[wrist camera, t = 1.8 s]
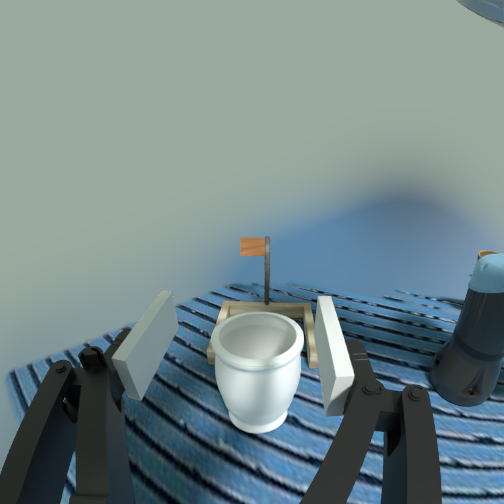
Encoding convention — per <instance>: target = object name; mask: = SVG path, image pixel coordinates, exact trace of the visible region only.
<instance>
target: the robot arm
mask: <svg viewBox="0 0 504 504" xmlns="http://www.w3.org/2000/svg"><path fill="white" fill-rule="evenodd" d="M456 1H458V2H459V3H460V4H462V5H463V6H465V7H466V8H468V9H469V10H471V11H473V12H474V13H476V14H477V15H479V16H481V17H483V18H485V19H487V20H489V21H491V22H493V23H495V24H497V25H500V26H502V27H504V0H456ZM468 286H469V289H468V291H467V295H466V298H465V301H464V304H463V307H462V310H461V313H460V316H459V319H458V321H457V324H456V327H455V329H454V332H453V334H452V335H451V336H450V337H449V339H448V340H447V341H446V342H445V343H444V345H443V346H442V347H441V348H440V349H439V350H438V352H437V353H436V354H435V356H434V358H433V360H432V363H431V365H430V368H429V377H430V381H431V383H432V385H433V387H434V388H435V390H436V391H437V392H438V393H439V394H440V395H441V396H442V397H443V398H445V399H446V400H448V401H450V402H452V403H454V404H457V405H460V406H476V405H479V404H481V403H483V402H485V401H486V400H487V399H488V398H489V397H490V395H491V394H492V392H493V391H494V389H495V387H496V385H497V382H498V378H499V374H500V370H501V366H502V362H503V357H504V254H488V255H485V256H483V257H481V258H480V259H479V260H478V261H477V263H476V265H475V268H474V271H473V274H472V277H471V280H470V281H469V284H468ZM178 328H179V327H178V321H177V316H176V310H175V304H174V298H173V292H172V291H161V292H160V293H159V294H158V296H157V297H156V298H155V300H154V301H153V302H152V304H151V305H150V306H149V307H148V309H147V310H146V311H145V313H144V314H143V316H142V317H141V318H140V319H139V321H138V322H137V323H136V325H135V326H134V328H133V329H132V330H131V329H125V330H124V331H122V332H121V333H119V335H118V336H117V337H116V338H115V340H114V341H113V342H112V345H110V346H109V348H108V349H107V350H106V352H105V353H104V354H103V351H102V350H101V349H100V348H99V347H96V346H91V347H87V348H85V349H83V350H82V351H81V352H80V353H79V355H78V357H79V359H80V361H81V364H82V366H83V368H73V367H72V365H71V363H70V362H69V361H67V360H60V361H57V362H55V363H54V364H53V365H52V366H51V368H50V369H49V371H48V373H47V375H46V376H45V378H44V380H43V382H42V383H41V385H40V387H39V389H38V391H37V393H36V395H35V397H34V398H33V400H32V402H31V404H30V406H29V408H28V410H27V412H26V414H25V416H24V419H23V421H22V423H21V425H20V427H19V429H18V431H17V434H16V436H15V438H14V441H13V443H12V445H11V448H10V450H9V453H8V455H7V458H6V460H5V463H4V466H3V468H2V471H1V474H0V504H60V502H61V498H62V493H63V489H64V485H65V481H66V477H67V473H68V469H69V466H70V462H71V459H72V455H73V452H74V448H75V445H76V493H75V494H73V495H71V496H70V498H69V504H136V503H135V498H134V493H133V487H132V481H131V474H130V467H129V459H128V451H127V441H126V429H125V414H124V400H123V397H122V394H123V393H124V391H125V392H126V394H127V396H128V398H132V399H136V400H140V401H141V400H142V398H143V396H144V394H145V392H146V390H147V388H148V386H149V384H150V382H151V380H152V378H153V376H154V374H155V372H156V370H157V368H158V366H159V364H160V363H161V361H162V359H163V357H164V355H165V353H166V351H167V349H168V347H169V345H170V343H171V341H172V339H173V337H174V336H175V334H176V332H177V330H178ZM314 339H315V346H316V352H317V359H318V366H319V373H320V380H321V387H322V395H323V402H324V410H325V417H326V416H341V415H342V412H343V410H344V412H345V415H344V418H343V420H342V422H341V425H340V427H339V429H338V431H337V434H336V436H335V438H334V440H333V442H332V444H331V446H330V448H329V450H328V453H327V455H326V457H325V459H324V461H323V462H322V464H321V466H320V468H319V470H318V472H317V474H316V476H315V477H314V479H313V481H312V483H311V485H310V486H309V488H308V490H307V492H306V493H305V495H304V497H303V498H302V500H301V502H300V503H299V504H346V502H347V499H348V497H349V495H350V493H351V491H352V488H353V486H354V484H355V481H356V479H357V477H358V474H359V472H360V469H361V467H362V464H363V461H364V459H365V456H366V453H367V450H368V448H369V445H370V442H371V439H372V436H373V433H374V431H381V432H384V457H383V481H382V495H381V504H442V493H441V475H440V463H439V453H438V445H437V438H436V431H435V425H434V419H433V413H432V408H431V403H430V398H429V394H428V392H427V390H426V389H425V388H424V387H422V386H420V385H415V384H413V385H408V386H406V387H405V388H404V389H403V391H394V390H389V389H386V388H384V386H383V384H382V383H381V382H379V381H377V380H376V378H375V375H374V373H373V370H372V367H371V364H370V361H369V360H368V356H367V354H366V350H365V348H364V345H363V344H362V343H361V342H360V341H359V340H344V337H343V334H342V330H341V327H340V324H339V321H338V318H337V314H336V311H335V308H334V305H333V302H332V299H331V296H318V300H317V310H316V318H315V326H314ZM64 398H65V400H64ZM63 400H64V402H63Z"/></svg>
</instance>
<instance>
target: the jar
mask: <svg viewBox="0 0 504 504" xmlns="http://www.w3.org/2000/svg"><path fill="white" fill-rule="evenodd" d="M211 343H212V348H213V351H214V353H215V354H216V357H215V375H216V381H217V385H218V388H219V391H220V393H221V395H222V398H223V400H224V403H225V405H226V407H227V409H228V410H229V417H230V419H231V421H232V423H233V424H234V425H235V426H236V427H238V428H239V429H241V430H243V431H246V432H249V433H265V432H269V431H272V430H274V429H276V428H277V427H279V426H280V425H281V424H282V423H283V422H284V420H285V419H286V416H287V409H288V407H289V406H290V404H291V402H292V399H293V396H294V394H295V392H296V389H297V386H298V383H299V379H300V372H301V358H300V352H301V350H302V348H303V344H304V334H303V331H302V329H301V327H300V326H299V325H298V324H297V323H296V322H295V321H293V320H292V319H290V318H288V317H286V316H283V315H280V314H277V313H272V312H261V311H257V312H246V313H241V314H237V315H234V316H231V317H229V318H227V319H225V320H224V321H222V322H221V323H219V324H218V325H217V326H216V327H215V329H214V330H213V332H212V335H211Z"/></svg>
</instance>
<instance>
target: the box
mask: <svg viewBox="0 0 504 504" xmlns="http://www.w3.org/2000/svg"><path fill="white" fill-rule="evenodd" d="M240 242H241V256H265V302H238V301H224V302H223V305H222V308H221V311H220V314H219V317H218V319H217V322H216V325H215V327H216V326H217V325H218V324H219V323H221V322H222V321H224V320H225V319H227V318H229V317H230V316H234V315H237V314H241V313H246V312H257V311H261V312H272V313H277V314H280V315H283V316H286V317H288V318H303V322H304V330H305V338H306V347H307V356H308V365H309V368H317V367H318V359H317V352H316V346H315V339H314V320H313V314H312V309H311V304H310V303H272V302H269V282H270V237H265V238H241V239H240ZM214 329H215V328H214ZM206 352H207V359H208V364H212V365H215V357H216V354H215V353H214V351H213V348H212V343H211V340H210V343H209V346H208V348H207V351H206Z"/></svg>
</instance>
